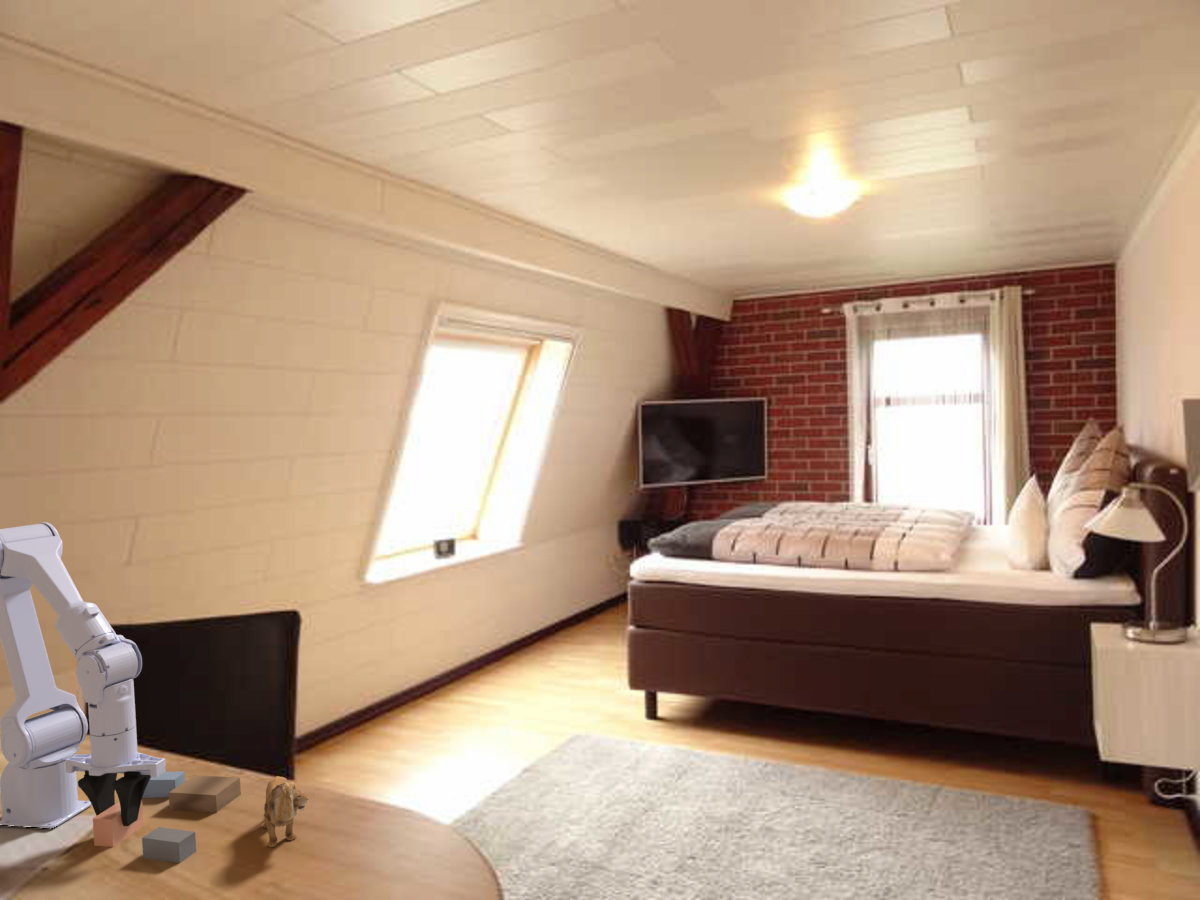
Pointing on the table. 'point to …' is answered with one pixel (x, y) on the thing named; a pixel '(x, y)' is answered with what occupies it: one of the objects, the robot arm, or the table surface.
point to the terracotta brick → (113, 826)
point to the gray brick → (169, 845)
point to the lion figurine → (282, 807)
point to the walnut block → (204, 793)
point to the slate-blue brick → (163, 784)
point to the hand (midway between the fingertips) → (118, 822)
